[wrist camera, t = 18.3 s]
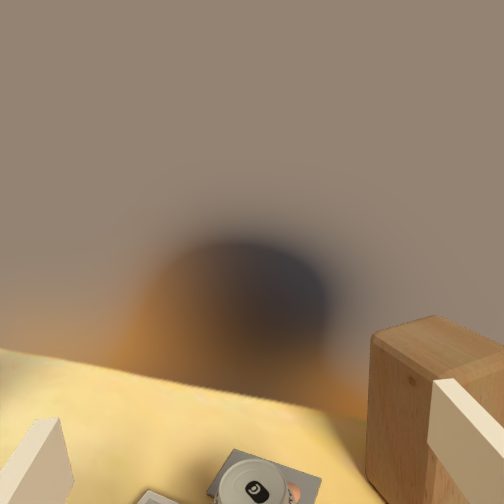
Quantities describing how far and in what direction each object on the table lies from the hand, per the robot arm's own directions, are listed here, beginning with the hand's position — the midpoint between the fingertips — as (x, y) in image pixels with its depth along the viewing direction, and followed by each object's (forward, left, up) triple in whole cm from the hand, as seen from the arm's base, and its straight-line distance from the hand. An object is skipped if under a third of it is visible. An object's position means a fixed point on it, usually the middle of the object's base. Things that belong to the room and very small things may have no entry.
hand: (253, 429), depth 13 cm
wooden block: (+7, +28, -30) cm, 42 cm away
